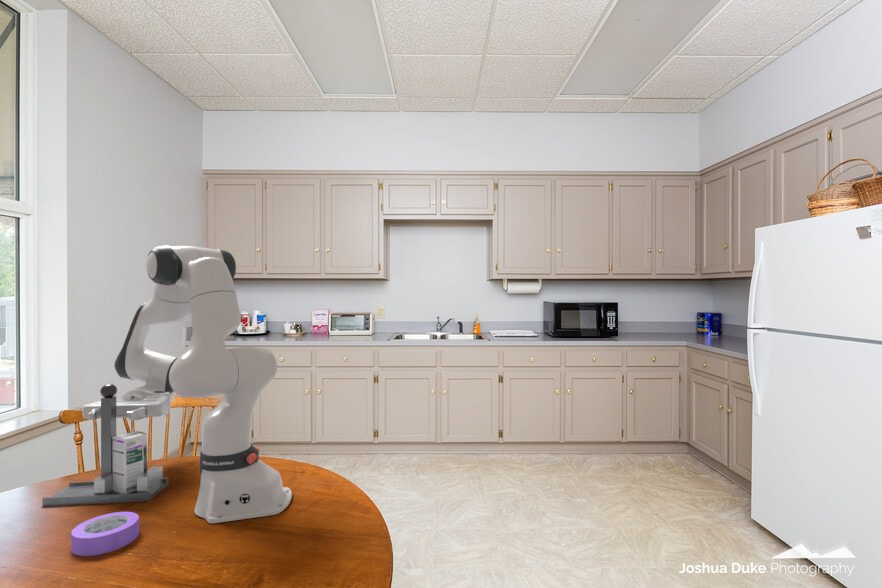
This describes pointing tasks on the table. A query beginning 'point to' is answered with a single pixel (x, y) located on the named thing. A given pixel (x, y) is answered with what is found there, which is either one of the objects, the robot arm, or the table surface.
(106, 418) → the ball-topped square post
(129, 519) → the masking tape
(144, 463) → the syrup box
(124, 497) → the tray
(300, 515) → the table surface
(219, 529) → the table surface
